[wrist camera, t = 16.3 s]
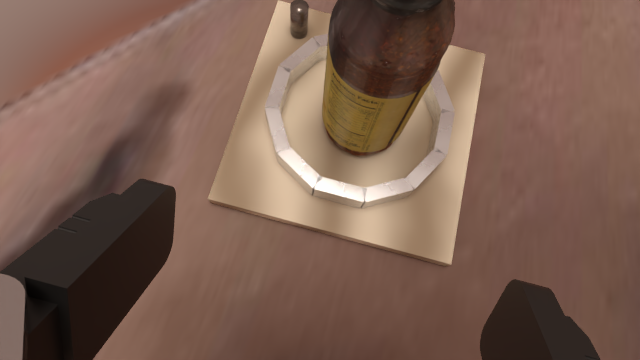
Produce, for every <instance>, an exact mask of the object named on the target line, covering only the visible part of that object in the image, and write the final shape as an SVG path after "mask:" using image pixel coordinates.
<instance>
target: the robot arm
mask: <svg viewBox="0 0 640 360" xmlns="http://www.w3.org/2000/svg"><path fill="white" fill-rule="evenodd" d="M175 201H176V192H175V189H174V187H172V186H168V185H164V184H161V183H157V182H153V181H149V180H146V179H139V180H138V181H136V182H135V183H134V184H133V185H132V186H130V187H129V188H128V189H127V190H126V191H125V192H123V193H122V194H121V195H118V194H115V193H111V194H108V195H106V196H103V197H101V198H98V199H96V200H93V201H90V202H89V203H87V204H86V205H85V206H84V207H82V208H81V209H80V210H78V211H77V212H76V213H75V214H73V217H72V218H68V219H67V220H66V221H64V222H63V223H62V224H61V225H59V227H58V229H54V230H53V231H52V232H50V233H49V234H48V235H47V236H45V237H44V238H43V239H42V240H40V241H39V242H38V243H36V244H35V245H34V246H33V247H31V248H30V249H29V250H28V251H26V252H25V253H24V254H22V255H21V256H20V257H19V258H17V259H16V260H15V261H14V262H12V263H11V264H10V265H8V266H7V267H6V268H5V269H3V270H2V271H1V272H0V360H93V358H94V357H95V356H96V354H97V353H98V352H99V350H100V349H101V348H102V346H103V345H104V344H105V342H106V341H107V340H108V338H109V337H110V336H111V334H112V333H113V332H114V330H115V329H116V328H117V326H118V325H119V324H120V322H121V321H122V320H123V318H124V317H125V316H126V315H127V313H128V312H129V311H130V309H131V308H132V307H133V305H134V304H135V303H136V301H137V300H138V299H139V297H140V296H141V295H142V293H143V292H144V291H145V289H146V288H147V287H148V285H149V284H150V283H151V281H152V280H153V279H154V277H155V276H156V275H157V273H158V272H159V271H160V269H161V268H162V267H163V265H164V264H165V262H166V260H167V258H168V256H169V254H170V251H171V248H172V243H173V233H174V217H175ZM480 351H481V356H482V360H600V358H599V356H598V354H597V352H596V350H595V348H594V347H593V345H592V343H591V341H590V339H589V337H588V336H587V335H586V334H585V333H584V332H583V331H582V330H581V329H580V328H579V327H578V326H577V324H576V323H575V322H574V321H573V320H572V319H571V318H570V317H568V316H565V315H564V313H563V311H562V309H561V307H560V305H559V303H558V301H557V299H556V297H555V295H554V293H553V292H552V291H551V289H549V288H546V287H542V286H539V285H535V284H531V283H527V282H524V281H520V280H516V279H515V280H512V281H511V282H509V284H508V285H507V286H506V288H505V290H504V292H503V293H502V295H501V297H500V299H499V300H498V302H497V304H496V306H495V308H494V309H493V311H492V313H491V315H490V316H489V318H488V320H487V322H486V323H485V325H484V328H483V330H482V334H481V340H480Z"/></svg>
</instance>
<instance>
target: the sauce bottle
mask: <svg viewBox="0 0 640 360" xmlns="http://www.w3.org/2000/svg"><path fill="white" fill-rule="evenodd" d="M454 11H455V2H454V0H338V1H337V3H336V4H335V6H334V8H333V11H332V14H331V17H330V22H329V30H328V42H327V56H326V70H325V80H324V92H323V104H322V117H323V122H324V124H325V128H326V131H327V134H328V136H329V138H330V139H331V140H332V141H333V142H334V143H335V144H336V145H337V146H339V147H340V148H341V149H343V150H344V151H346V152H349V153H351V154H352V155H356V156H368V155H371V154H376V153H378V152H381V151H384V150H386V149H387V148H389V147H390V146H391V145H392V143H393V142H394V141H395V140H396V139H397V138H398V137H399V136H400V134H401V132H402V131H403V129H404V128H405V126H406V124H407V123H408V121H409V119H410V117H411V116H412V114H413V112H414V110H415V109H416V107H417V105H418V103H419V101H420V100H421V98H422V96H423V95H424V93H425V91H426V89H427V88H428V86H429V84H430V82H431V81H432V79H433V77H434V75H435V74H436V72H437V70H438V68H439V65H440V62H441V59H442V57H443V55H444V54H445V52H446V51H447V48H448V46H449V44H450V42H451V39H452V35H453V32H454V27H455V16H454Z"/></svg>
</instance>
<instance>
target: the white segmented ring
mask: <svg viewBox="0 0 640 360" xmlns="http://www.w3.org/2000/svg"><path fill="white" fill-rule="evenodd" d="M308 10H309V6H308V4H307V2H305V1H304V0H295V1H293V2H292V3H291V5H290V32H291V35H292V36H293V37H294V38H296V39H303V38H305V37H306V35H307V30H308ZM327 42H328V34H324V35H319V36H314V38H313V37H312V38H311V39H310V40H308V41H307V42H306V43H305V44H304V45H302V46H301V47H300V48H299V49H297V50H296V51H295V52H294V53H293V54H291V55H290V56H289V57H288V58H287V59H285V60H284V61H283V62H282V63H281V64H279V65H280V66H278V69H277V72H276V75H275V78H274V81H273V84H272V87H271V90H270V92H269V95H268V98H267V101H266V104H265V113H266V120H267V124H268V128H269V132H270V135H271V139H272V143H273V147H274V151H275V155H276V159H277V162H278V163H279V164H280V165H281V166H282V167H283V168H284V169H285V170H286V171H287V172H288V173H289V174H290V175H291V176H292V177H293V178H294V179H295V180H296V181H297V182H298V183H299V184H300V185H301V186H302V187H303V188H304V189H305V190H306V191H307V192H308V193H309V194H310V195H313V197H317V198H321V199H324V200H328V201H332V202H335V203H339V204H343V205H347V206H350V207H354V208H358V209H360V207H361V209H363V208H367V207H371V206H375V205H378V204H382V203H386V202H390V201H394V200H398V199H402V198H405V197H407V196H409V195H410V194H411V193H412V192H413V191H414V190H415V189H416V188H417V187H418V185H419V184H420V183H421V182H422V181H423V180H424V179H425V178H426V177H427V176H428V175H429V174H430V173H431V172H432V171H433V170H434V169H435V168H436V167H437V166H438V165H439V164H440V163H441V161H442V160H443V159H444V158H445V157H446V156H447V154H448V148H449V143H450V137H451V132H452V126H453V120H454V115H455V112H454V111H455V110H454V107H453V105H452V102H451V100H450V97H449V95H448V92H447V90H446V87H445V85H444V82H443V80H442V77H441V75H440V72H439V70H437V72H436V74H435V75H434V77H433V79H432V81H431V82H430V84H429V86H428V88H427V89H426V91H425V93H424V95H423V97H424V100H425V103H426V105H427V108H428V111H429V113H430V116H431V119H432V121H433V125H432V130H431V135H430V140H429V145H428V150H427V156H426V158H425V159H424V160H423V161H422V162H421V163H420V164H419V165H418V166H417V167H416V168H415V169H414V170H413V171H412V172H411V173H410V174H409V175H408V176H407V177H406V178H402V179H398V180H394V181H390V182H386V183H382V184H378V185H374V186H370V187H366V188H363V187H359V186H355V185H351V184H348V183H344V182H340V181H336V180H333V179H329V178H325V177H321V176H320V175H319V174H318V173H317V172H316V171H315V170H314V169H313V168H312V167H311V166H309V165H308V164H307V163H306V162H305V161H304V160H303V159H302V158H301V157H300V156H299V155H298V154H297V153H296V152H295V151H294V150H293V149H292V148H291V147H290V146H289V143H288V139H287V135H286V132H285V128H284V124H283V121H282V117H281V114H282V111H283V108H284V105H285V102H286V98H287V95H288V92H289V89H290V86H291V84H293V83H294V82H295V81H296V80H297V79H298V78H300V77H301V76H302V75H303V74H304V73H306V72H307V71H308V70H309V69H310V68H311V67H313V66H314V65H315V64H316V63H317V62H319V61H324V60H326V56H327Z"/></svg>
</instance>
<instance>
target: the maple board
mask: <svg viewBox="0 0 640 360" xmlns="http://www.w3.org/2000/svg"><path fill="white" fill-rule="evenodd" d="M290 5H291V4H290V3H286V2H282V1H278V3H277V6H276V8H275V11H274V14H273V17H272V20H271V23H270V25H269V28H268V31H267V34H266V37H265V39H264V42H263V45H262V48H261V51H260V53H259V56H258V59H257V62H256V65H255V68H254V70H253V73H252V76H251V79H250V82H249V84H248V87H247V90H246V93H245V96H244V98H243V101H242V104H241V107H240V110H239V113H238V115H237V118H236V121H235V124H234V127H233V129H232V132H231V135H230V138H229V141H228V143H227V146H226V149H225V152H224V155H223V158H222V160H221V163H220V166H219V169H218V172H217V174H216V177H215V180H214V183H213V186H212V188H211V191H210V194H209V197H208V200H209V201H210V202H211V203H213V204H217V205H220V206H224V207H228V208H232V209H235V210H239V211H243V212H246V213H250V214H254V215H257V216H261V217H265V218H269V219H272V220H276V221H280V222H283V223H287V224H291V225H295V226H298V227H302V228H306V229H309V230H313V231H317V232H320V233H324V234H328V235H332V236H335V237H339V238H343V239H346V240H350V241H354V242H358V243H361V244H365V245H369V246H372V247H376V248H380V249H383V250H387V251H391V252H395V253H398V254H402V255H406V256H409V257H413V258H417V259H420V260H424V261H428V262H432V263H435V264H439V265H443V266H448V265H451V263H452V257H453V250H454V244H455V238H456V232H457V226H458V219H459V213H460V207H461V201H462V195H463V189H464V182H465V176H466V170H467V164H468V158H469V151H470V145H471V139H472V133H473V127H474V121H475V114H476V108H477V102H478V96H479V90H480V84H481V77H482V71H483V65H484V59H485V54H483V53H479V52H475V51H471V50H467V49H463V48H460V47H456V46H452V45H449V46H448V48H447V51H446V52H445V54H444V55H443V57H442V59H441V62H440V65H439V68H438V70H439V72H440V75H441V77H442V80H443V82H444V85H445V87H446V90H447V92H448V95H449V97H450V100H451V102H452V105H453V107H454V110H455V111H454V112H455V115H454V120H453V126H452V132H451V137H450V143H449V148H448V154H447V156H446V157H445V158H444V159H443V160H442V161H441V163H440V164H439V165H438V166H437V167H436V168H435V169H434V170H433V171H432V172H431V173H430V174H429V175H428V176H427V177H426V178H425V179H424V180H423V181H422V182H421V183H420V184H419V185H418V187H417V188H416V189H415V190H414V191H413V192H412V193H411V194H410V195H409V196H407V197H405V198H402V199H398V200H394V201H390V202H386V203H382V204H378V205H375V206H371V207H367V208H363V209H361V207H360V209H358V208H354V207H350V206H347V205H343V204H339V203H335V202H332V201H328V200H324V199H321V198H317V197H313V195H310V194H309V193H308V192H307V191H306V190H305V189H304V188H303V187H302V186H301V185H300V184H299V183H298V182H297V181H296V180H295V179H294V178H293V177H292V176H291V175H290V174H289V173H288V172H287V171H286V170H285V169H284V168H283V167H282V166H281V165H280V164H279V163H278V162H277V159H276V155H275V151H274V147H273V143H272V139H271V135H270V132H269V128H268V124H267V120H266V113H265V104H266V101H267V98H268V95H269V92H270V90H271V87H272V84H273V81H274V78H275V75H276V72H277V69H278V66H280V65H279V64H281V63H282V62H283V61H284V60H285V59H287V58H288V57H289V56H290V55H291V54H293V53H294V52H295V51H296V50H297V49H299V48H300V47H301V46H302V45H304V44H305V43H306V42H307V41H308V40H310V39H311V38H312V37H313V38H314V36H319V35H324V34H328V30H329V22H330V17H331V14H329V13H325V12H321V11H317V10H313V9H309V10H308V30H307V35H306V37H305V38H303V39H296V38H294V37H293V36H292V35H291V32H290ZM325 70H326V60H324V61H319V62H317V63H316V64H315V65H314V66H313V67H311V68H310V69H309V70H308V71H307V72H306V73H304V74H303V75H302V76H301V77H300V78H298V79H297V80H296V81H295V82H294V83H293V84H291V86H290V89H289V92H288V95H287V98H286V102H285V105H284V108H283V111H282V114H281V117H282V121H283V124H284V128H285V132H286V135H287V139H288V143H289V146H290V147H291V148H292V149H293V150H294V151H295V152H296V153H297V154H298V155H299V156H300V157H301V158H302V159H303V160H304V161H305V162H306V163H307V164H308V165H309V166H311V167H312V168H313V169H314V170H315V171H316V172H317V173H318V174H319V175H320V176H321V177H325V178H329V179H333V180H336V181H340V182H344V183H348V184H351V185H355V186H359V187H363V188H366V187H370V186H374V185H378V184H382V183H386V182H390V181H394V180H398V179H402V178H406V177H407V176H408V175H409V174H410V173H411V172H412V171H413V170H414V169H415V168H416V167H417V166H418V165H419V164H420V163H421V162H422V161H423V160H424V159H425V158H426V156H427V150H428V145H429V140H430V135H431V130H432V125H433V121H432V119H431V116H430V113H429V111H428V108H427V105H426V103H425V100H424V97H423V96H422V98H421V100H420V101H419V103H418V105H417V107H416V109H415V110H414V112H413V114H412V116H411V117H410V119H409V121H408V123H407V124H406V126H405V128H404V129H403V131H402V132H401V134H400V136H399V137H398V138H397V139H396V140H395V141H394V142H393V143H392V145H391V146H390V147H389V148H387V149H386V150H384V151H381V152H378V153H376V154H371V155H368V156H356V155H352V154H351V153H349V152H346V151H344V150H343V149H341V148H340V147H339V146H337V145H336V144H335V143H334V142H333V141H332V140H331V139H330V138H329V136H328V134H327V131H326V128H325V124H324V122H323V117H322V104H323V92H324V80H325Z"/></svg>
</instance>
